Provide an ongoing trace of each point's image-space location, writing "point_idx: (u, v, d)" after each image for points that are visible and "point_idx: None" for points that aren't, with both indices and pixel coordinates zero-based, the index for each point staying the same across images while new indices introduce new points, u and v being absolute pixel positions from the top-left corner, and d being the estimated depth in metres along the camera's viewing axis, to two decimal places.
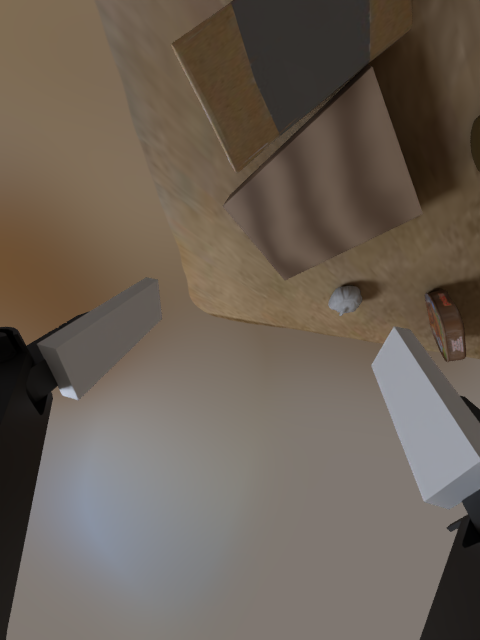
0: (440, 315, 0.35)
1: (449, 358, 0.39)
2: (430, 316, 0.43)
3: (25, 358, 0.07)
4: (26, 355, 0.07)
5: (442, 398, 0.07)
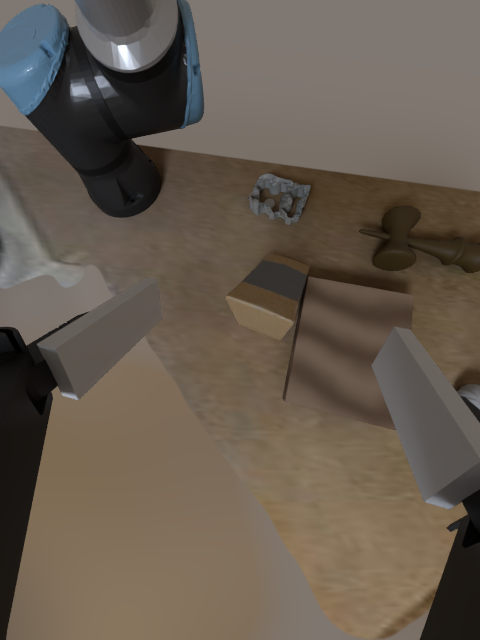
0: None
1: None
2: None
3: (25, 358, 0.07)
4: (26, 355, 0.07)
5: (442, 398, 0.07)
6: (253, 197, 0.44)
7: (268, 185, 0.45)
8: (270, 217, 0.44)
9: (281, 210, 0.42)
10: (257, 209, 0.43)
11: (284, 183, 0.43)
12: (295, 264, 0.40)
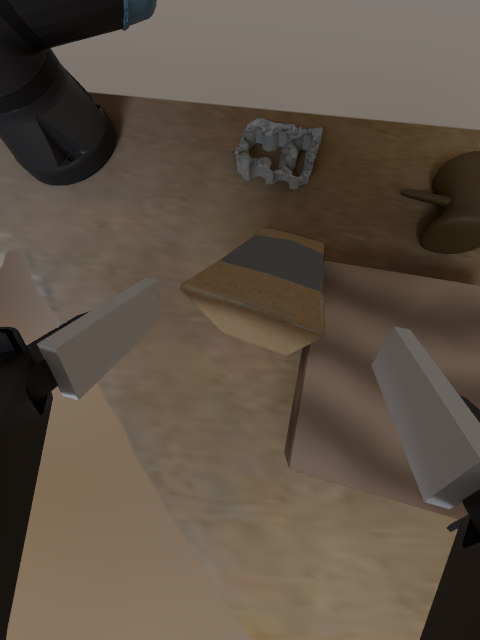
0: None
1: None
2: None
3: (25, 358, 0.07)
4: (26, 355, 0.07)
5: (442, 398, 0.07)
6: (240, 154, 0.30)
7: (260, 138, 0.32)
8: (267, 181, 0.31)
9: (283, 167, 0.29)
10: (248, 170, 0.30)
11: (283, 130, 0.30)
12: (304, 240, 0.27)
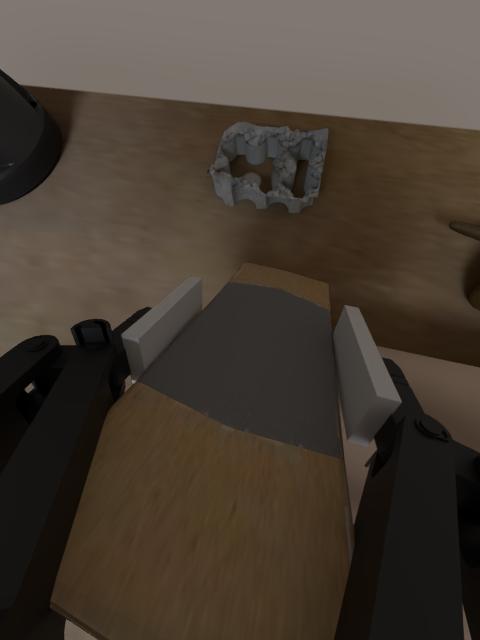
0: None
1: None
2: None
3: (111, 350, 0.08)
4: (112, 347, 0.08)
5: (364, 356, 0.09)
6: (219, 172, 0.22)
7: (242, 148, 0.24)
8: (258, 205, 0.22)
9: (279, 186, 0.21)
10: (231, 193, 0.22)
11: (273, 136, 0.22)
12: (300, 284, 0.19)
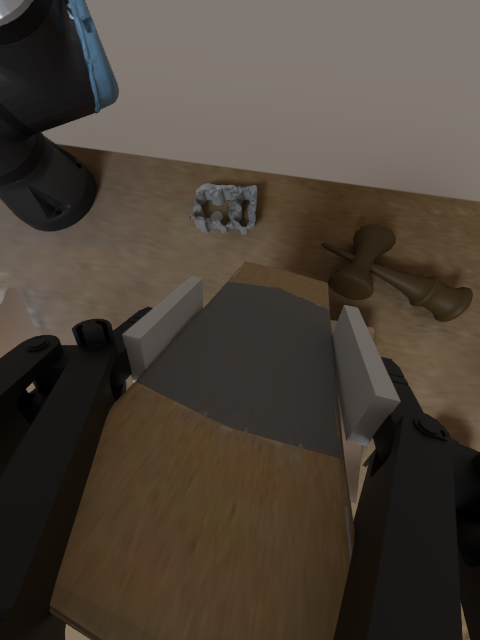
0: None
1: None
2: None
3: (113, 350, 0.08)
4: (113, 347, 0.08)
5: (363, 356, 0.09)
6: (196, 214, 0.37)
7: (209, 196, 0.39)
8: (222, 231, 0.37)
9: (232, 221, 0.36)
10: (205, 227, 0.37)
11: (226, 190, 0.37)
12: (299, 284, 0.19)
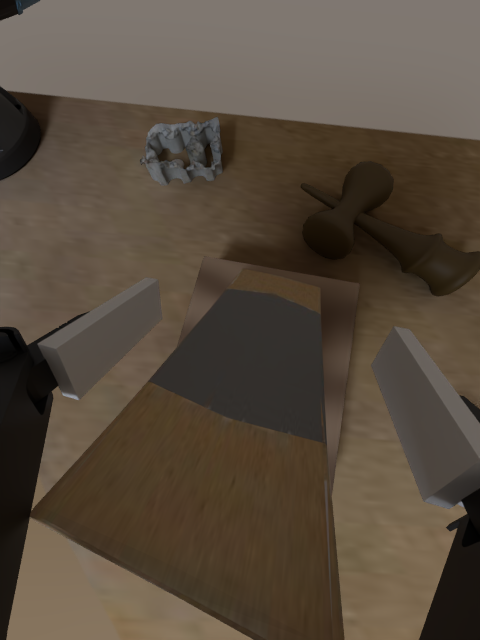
0: None
1: None
2: None
3: (26, 358, 0.07)
4: (27, 355, 0.07)
5: (441, 398, 0.07)
6: None
7: (165, 143, 0.33)
8: (184, 179, 0.31)
9: (193, 162, 0.29)
10: (161, 174, 0.30)
11: (183, 129, 0.31)
12: (293, 289, 0.20)
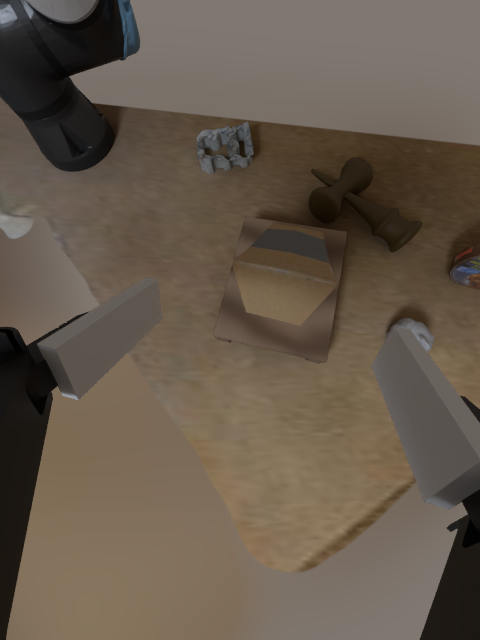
0: None
1: None
2: None
3: (25, 358, 0.07)
4: (26, 355, 0.07)
5: (442, 398, 0.07)
6: None
7: (207, 144, 0.45)
8: (226, 168, 0.43)
9: (234, 154, 0.42)
10: (211, 165, 0.42)
11: (222, 132, 0.43)
12: (306, 231, 0.32)
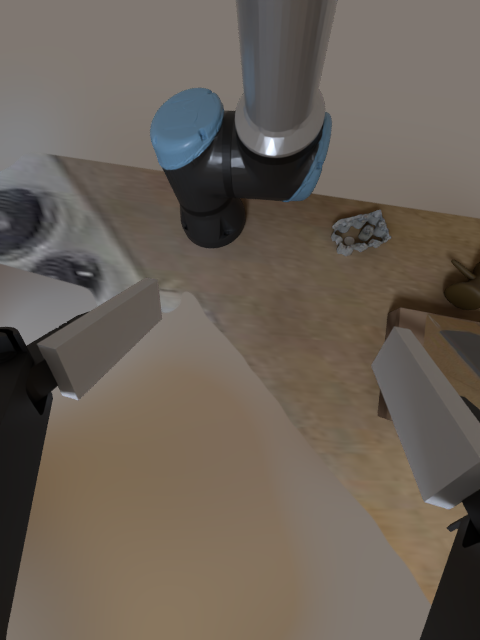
0: None
1: None
2: None
3: (25, 358, 0.07)
4: (26, 355, 0.07)
5: (442, 398, 0.07)
6: None
7: (338, 228, 0.50)
8: (362, 250, 0.48)
9: (373, 240, 0.47)
10: None
11: (355, 219, 0.48)
12: (470, 327, 0.37)
